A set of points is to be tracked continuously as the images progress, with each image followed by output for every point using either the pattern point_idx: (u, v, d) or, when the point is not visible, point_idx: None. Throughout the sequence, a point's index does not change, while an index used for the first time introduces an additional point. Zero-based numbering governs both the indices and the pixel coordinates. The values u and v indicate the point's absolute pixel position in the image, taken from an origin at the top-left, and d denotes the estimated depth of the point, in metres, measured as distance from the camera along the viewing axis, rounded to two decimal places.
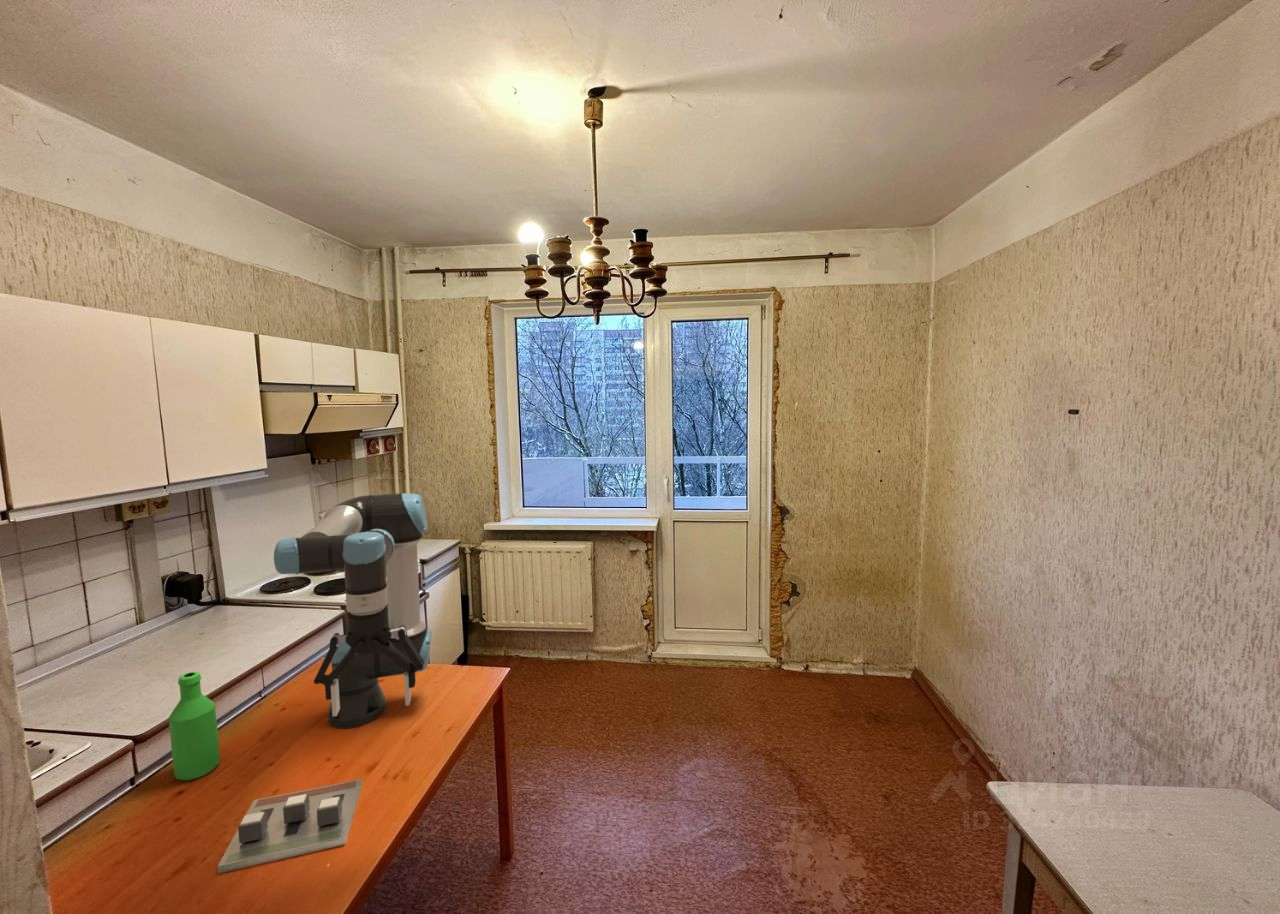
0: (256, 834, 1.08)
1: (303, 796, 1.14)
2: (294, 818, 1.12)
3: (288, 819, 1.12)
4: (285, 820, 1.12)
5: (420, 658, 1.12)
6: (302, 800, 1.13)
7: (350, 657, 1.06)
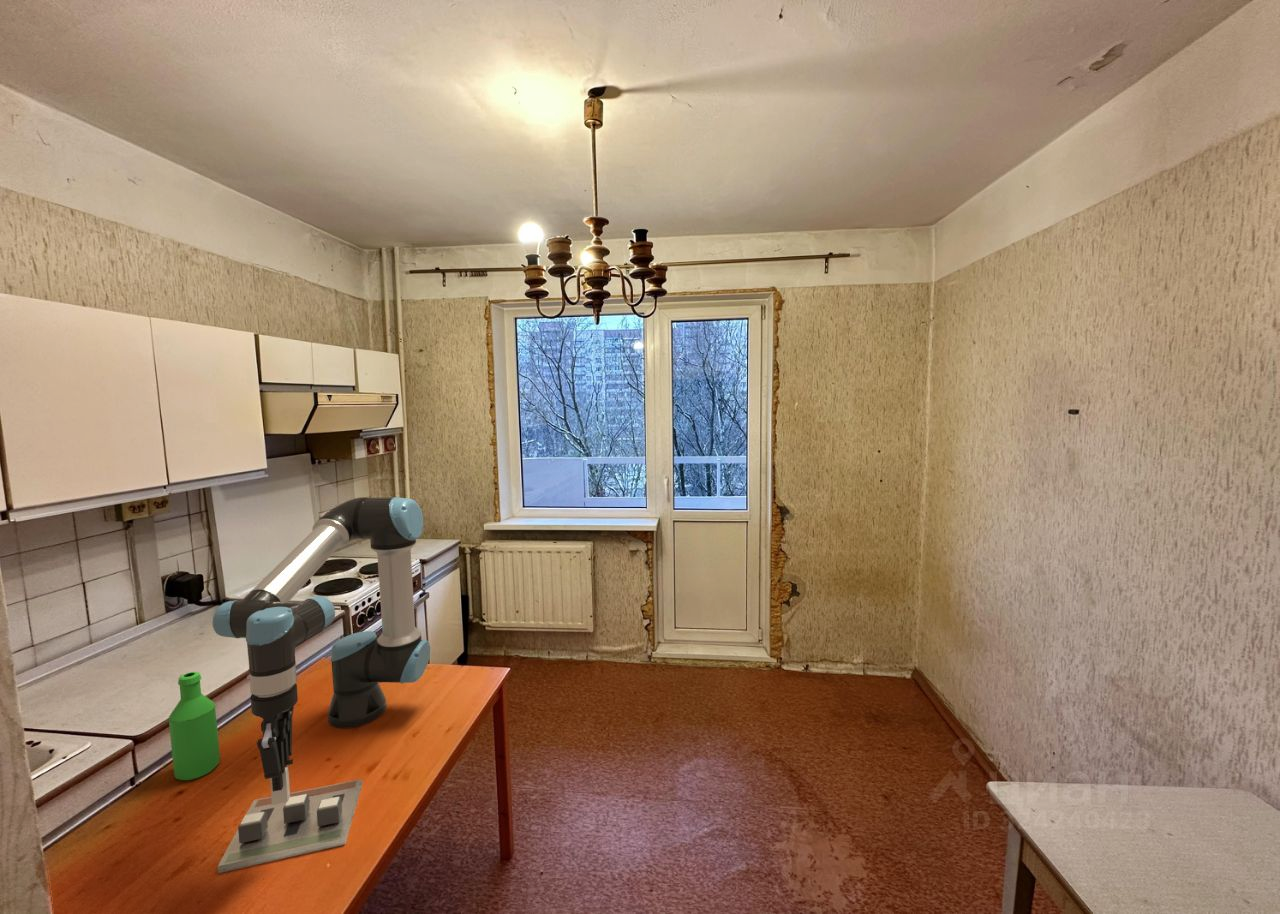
0: (256, 834, 1.08)
1: (303, 796, 1.14)
2: (294, 818, 1.12)
3: (288, 819, 1.12)
4: (285, 820, 1.12)
5: (272, 772, 1.01)
6: (302, 800, 1.13)
7: None
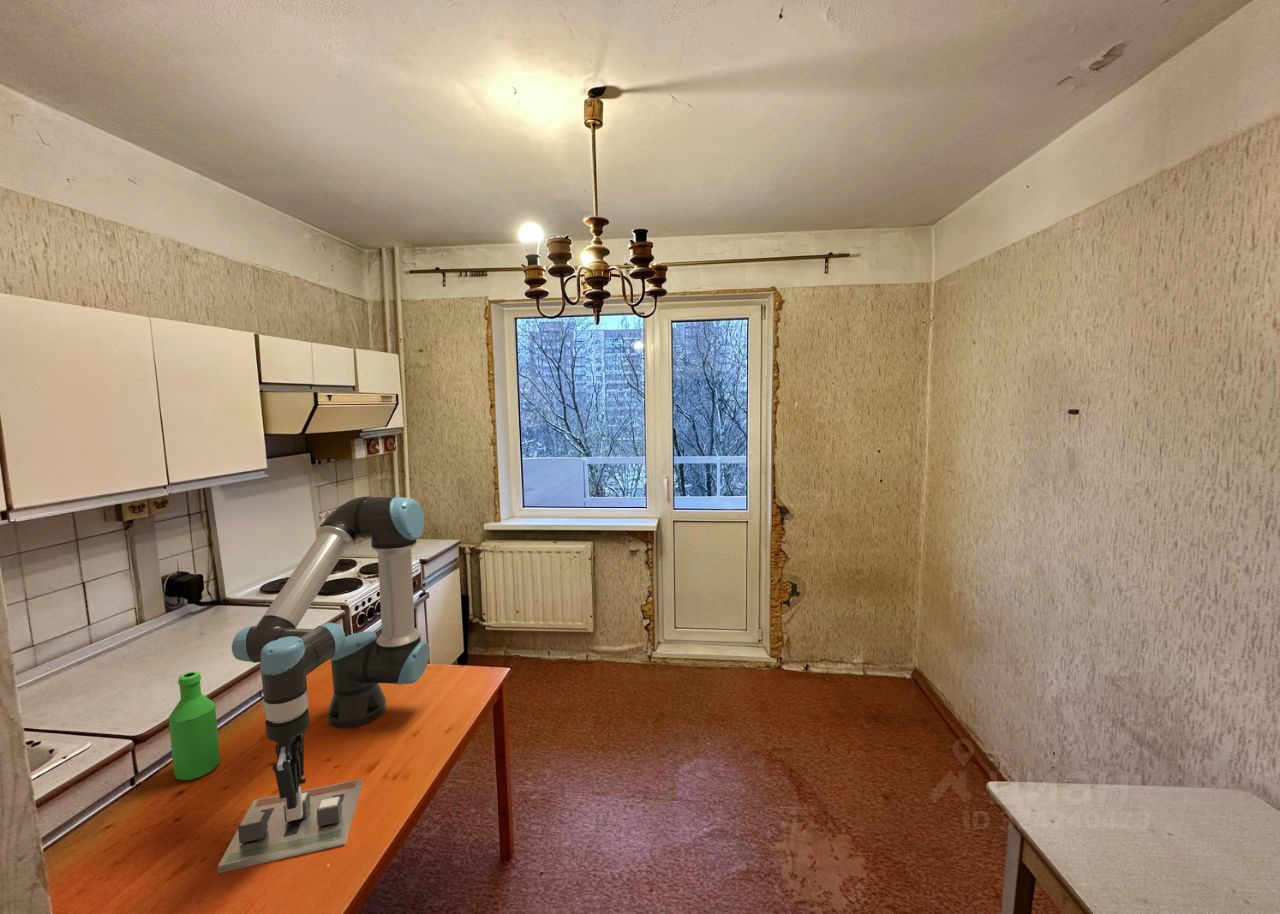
0: (256, 834, 1.08)
1: (304, 794, 1.15)
2: None
3: None
4: None
5: (287, 792, 1.08)
6: (303, 798, 1.14)
7: None
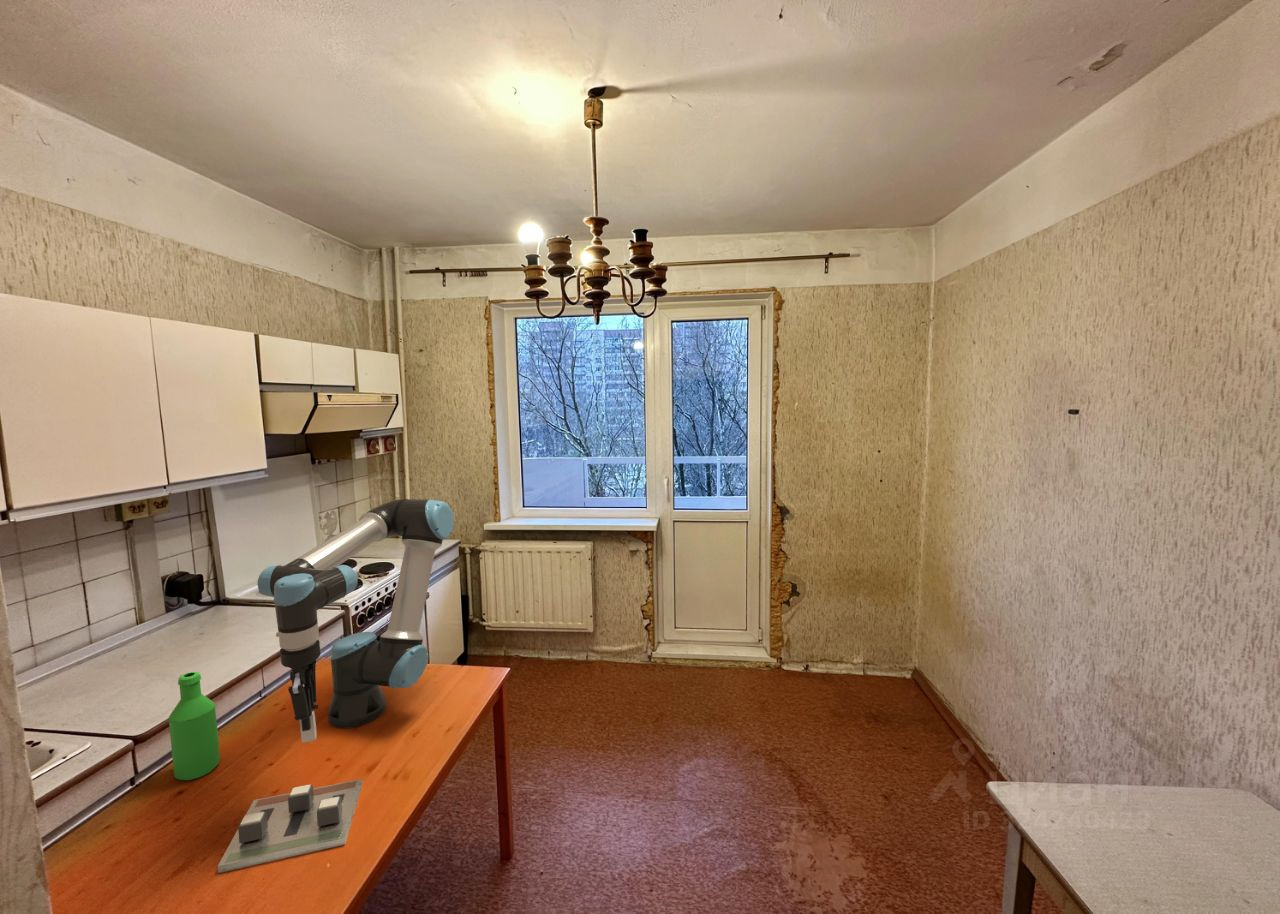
0: (256, 834, 1.08)
1: (307, 786, 1.17)
2: (298, 808, 1.15)
3: (293, 808, 1.15)
4: (290, 809, 1.15)
5: (302, 714, 1.17)
6: (306, 790, 1.16)
7: None
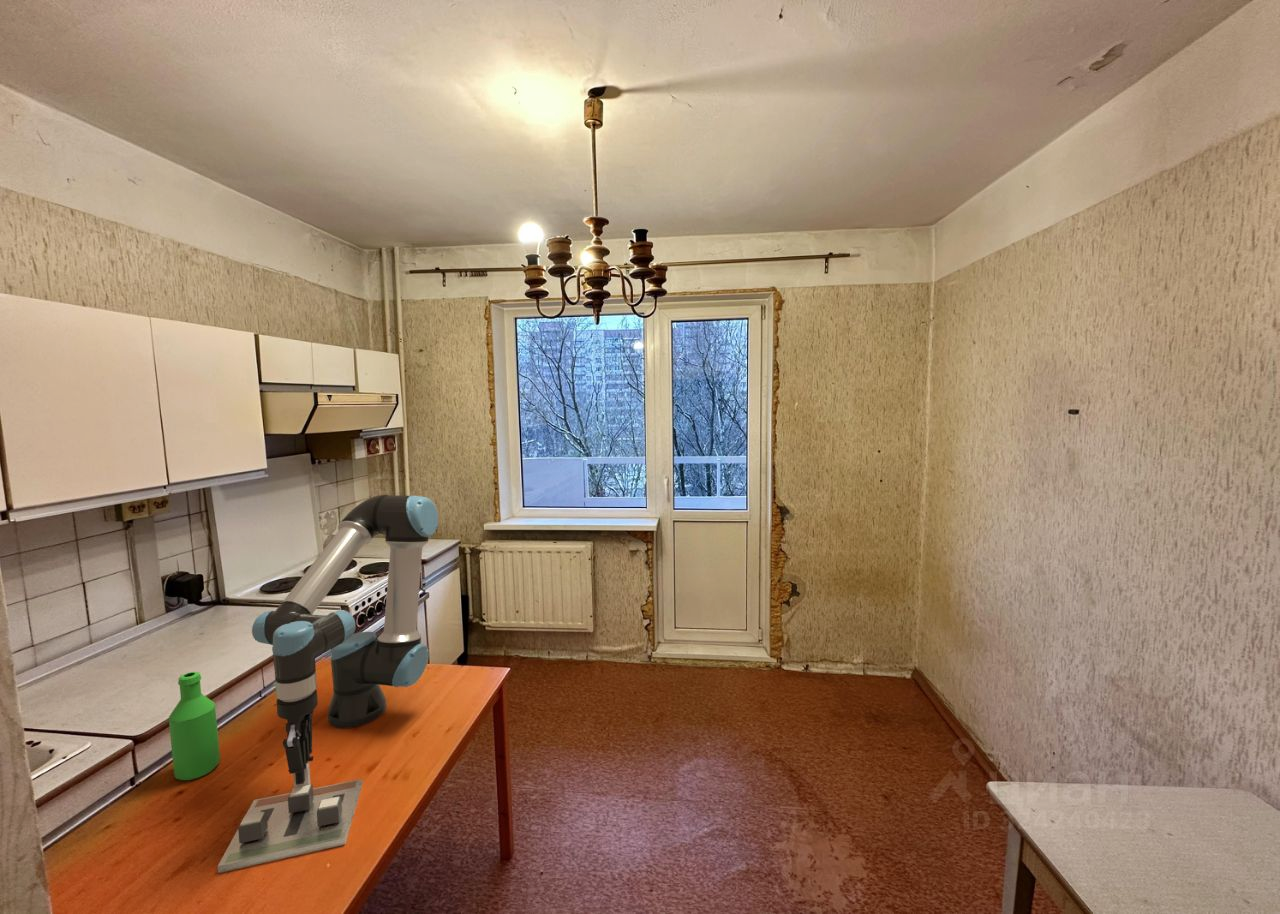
0: (256, 834, 1.08)
1: (307, 787, 1.17)
2: (298, 808, 1.15)
3: (292, 809, 1.15)
4: (290, 810, 1.15)
5: (296, 767, 1.14)
6: (306, 790, 1.16)
7: None
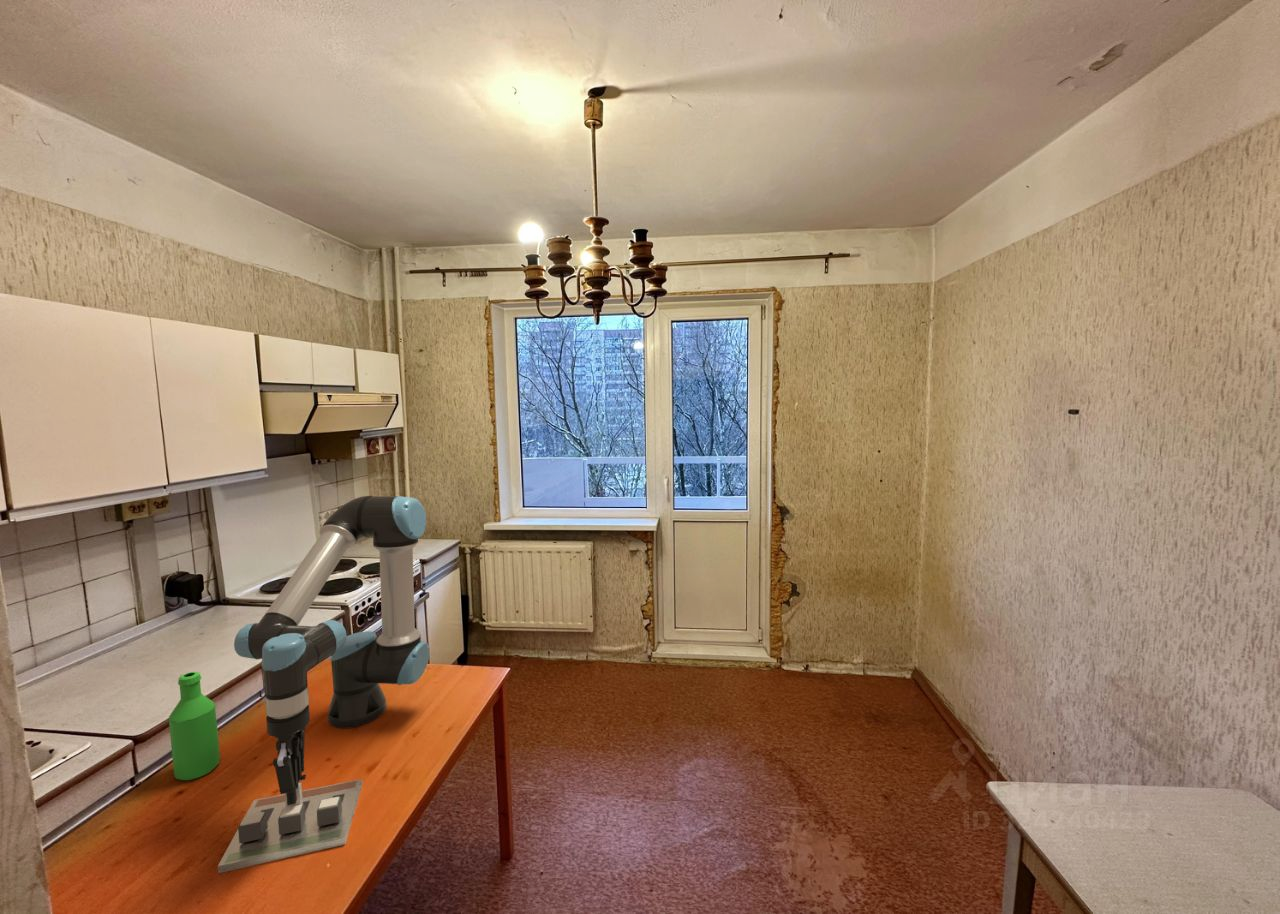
0: (256, 834, 1.08)
1: (299, 806, 1.11)
2: (289, 829, 1.09)
3: (283, 830, 1.09)
4: (280, 831, 1.09)
5: (287, 787, 1.08)
6: (298, 810, 1.10)
7: None
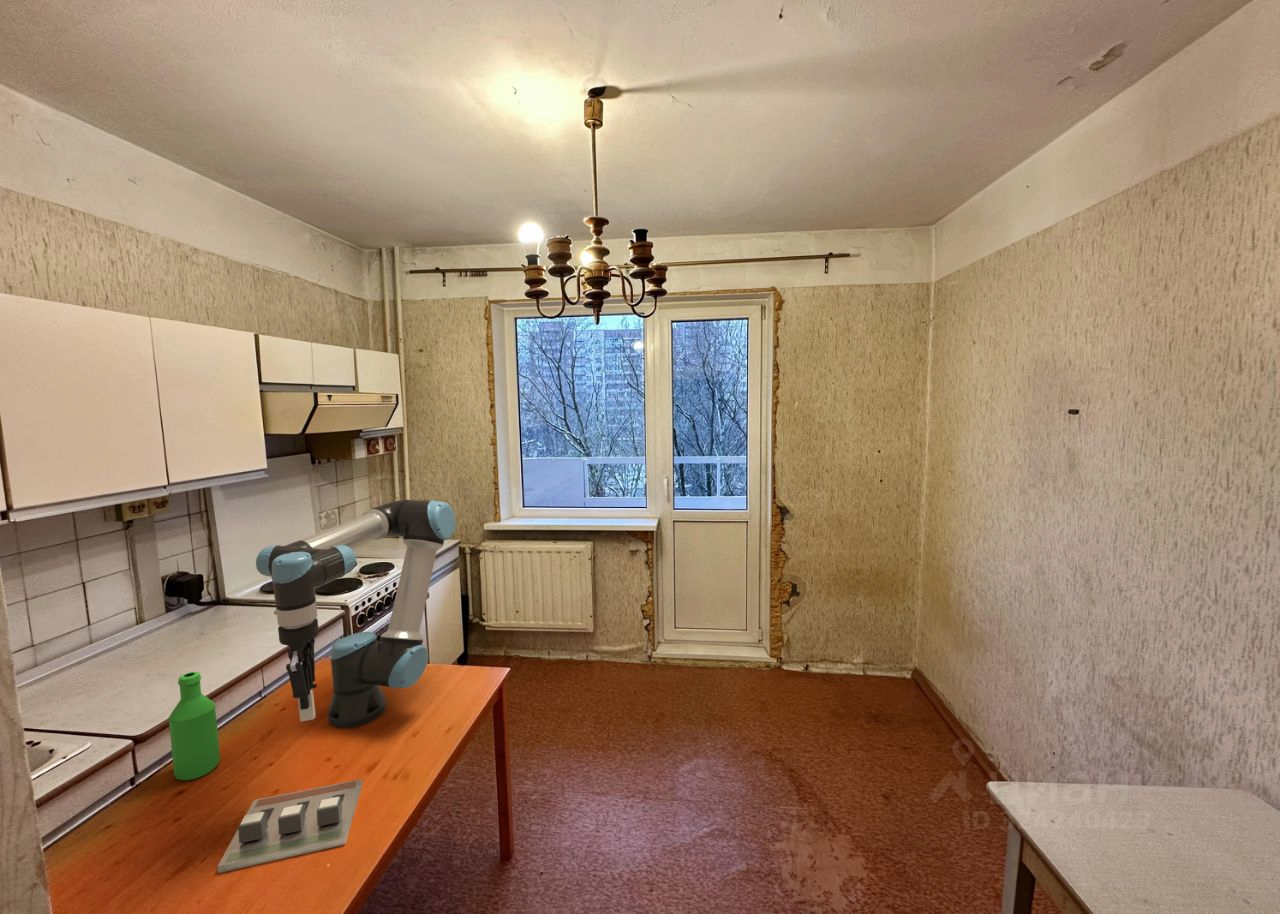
0: (256, 834, 1.08)
1: (299, 806, 1.11)
2: (289, 829, 1.09)
3: (283, 830, 1.09)
4: (280, 831, 1.09)
5: (300, 692, 1.16)
6: (298, 810, 1.10)
7: None
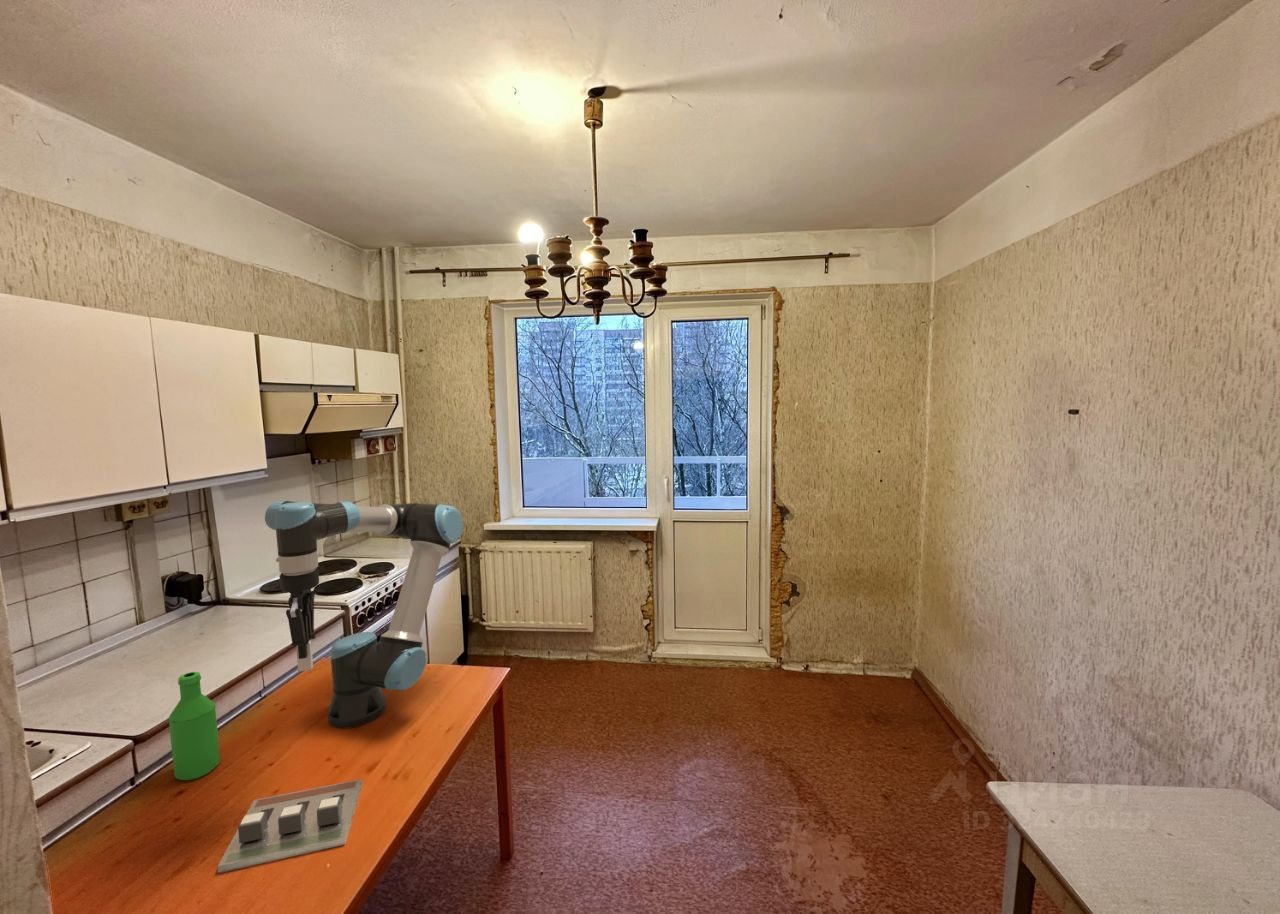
0: (256, 834, 1.08)
1: (299, 806, 1.11)
2: (289, 829, 1.09)
3: (283, 830, 1.09)
4: (280, 831, 1.09)
5: (298, 639, 1.18)
6: (298, 810, 1.10)
7: None
